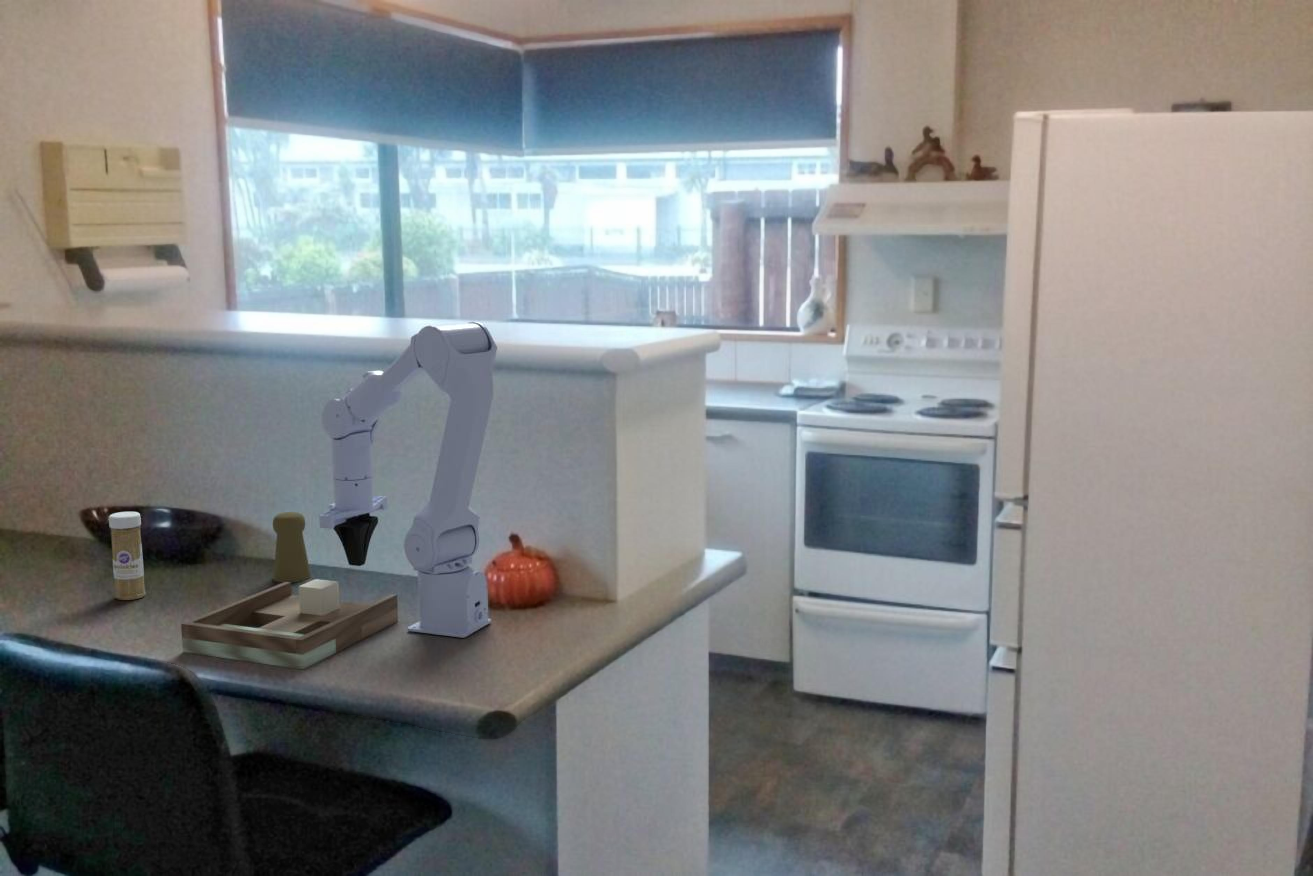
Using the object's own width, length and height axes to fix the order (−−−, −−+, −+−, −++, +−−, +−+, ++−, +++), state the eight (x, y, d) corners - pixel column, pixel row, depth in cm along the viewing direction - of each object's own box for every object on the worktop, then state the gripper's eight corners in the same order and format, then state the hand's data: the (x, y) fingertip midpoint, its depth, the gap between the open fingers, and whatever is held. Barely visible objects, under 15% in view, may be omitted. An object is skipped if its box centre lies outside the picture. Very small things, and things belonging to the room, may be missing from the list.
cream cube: (339, 608, 182) (338, 581, 181) (322, 615, 178) (321, 588, 177) (317, 605, 183) (315, 579, 182) (300, 612, 179) (298, 586, 179)
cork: (300, 583, 202) (296, 517, 200) (266, 581, 203) (262, 516, 202) (317, 573, 208) (313, 509, 206) (284, 572, 209) (280, 508, 207)
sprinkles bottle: (115, 602, 192) (108, 518, 190) (115, 594, 197) (108, 512, 194) (146, 598, 194) (140, 515, 192) (146, 591, 198) (140, 509, 196)
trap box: (398, 621, 182) (397, 594, 181) (303, 669, 162) (301, 640, 161) (287, 607, 189) (285, 581, 188) (183, 651, 169) (180, 623, 168)
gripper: (359, 466, 194) (362, 550, 197) (300, 484, 181) (305, 574, 183) (397, 469, 192) (400, 554, 194) (340, 487, 179) (344, 578, 181)
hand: (356, 564), depth 189 cm, fingers closed
